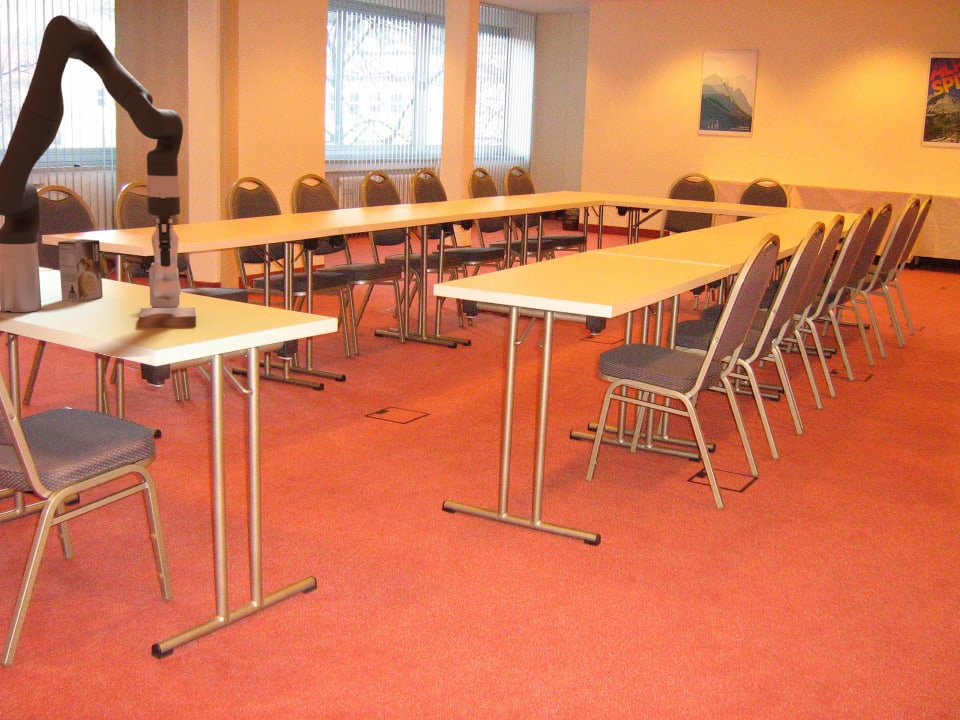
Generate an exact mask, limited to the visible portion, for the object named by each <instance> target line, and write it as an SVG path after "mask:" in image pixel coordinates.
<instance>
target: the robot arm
mask: <svg viewBox="0 0 960 720" xmlns="http://www.w3.org/2000/svg"><path fill="white" fill-rule="evenodd" d="M69 59H73V60H76V61H77V60H78V61H80V62H82V63H84V64H85V65H86V66H87V67H89V68H90V69H92V70H93V71H94V72H95V73H96V74H97V75H98V76H99V77H100V79H101V81H102V84H103V87H105V90H106V91H107V92H108V94H109V95H110V96H111V97H112V99H113V100H114V101H116V103H117V104H119V106H120V107H122V109H124V111H126V112H127V113H128V115H129V117H130V120H132V122H133V124H134V126H135V127H136V128H137V130H138V131H139V132H140V133H141V134H142V135H143V136H144V137H146V138H149V139H150V140H157V141H156V145H155V148H154V149H152V150H150V151H148V152H147V154H146V176H147V177H146V204H147V205H146V206H147V207H146V208H147V214H148V215H150V216H156V217H159V223H157V221H156V222H155V230H156V231H157V240H158V241H159V249H160V258H161V266H163V267H169V266H170V249H171V245H170V242H171V241H172V231H173V230H174V222H173V221H172V223H169V217H172V216H179V215H180V214H181V197H180V196H181V192H180V180H179V169H178V167H179V166H178V165H179V164H178V158H179V153H180V149H181V145H182V140H183V133H184V125H183V121H182V119H181V116H180V115H179V113H178V112H177V111H175V110H172V109H168V108H156V107H155V106H153V102H154V99H153V96H152V95H151V92H150V91H148V90H147V88H146V87H145V86H144V85H142V83H140V81H138V79H136V78H135V77H134V76H133V75H132V74H131V73H130V72H129V71H128V70H127V69H126V68H125V67H124V65H122V64H121V63H120V60H118V59H117V58H116V57H115V55H114V54H113V53H112V51H111V50H110V48H108V47H107V44H106V43H105V42H104V41H103V39H102V38H101V37H100V35H99V34H98V32H97V31H96V30H95V28H94V27H93V26H92V25H90V24H89V23H87V22H85V21H84V20H81V19H77V18H73V17H72V16H67V15H63V14H61V15H60V14H59V15H56V16H54V17H52V18H51V19H50V20H49V22H48V23H47V24H46V27H45V29H44V33H43V36H42V40H41V44H40V49H39V53H38V57H37V61H36V65H35V68H34V72H33V75H32V77H31V81H30V83H29V87H28V89H27V93H26V95H25V98H24V100H23V103H22V105H21V108H20V110H19V114H18V115H17V116H18V117H17V119H16V124H15V126H14V129H13V132H12V135H11V136H10V139H9V142H8V145H7V148H6V151H5V153H4V156H3V159H2V160H1V162H0V216H2V217H4V222H3V224H2V226H1V228H0V312H6V311H11V312H10V313H28V312H36V311H40V310H42V296H41V294H42V292H41V280H40V279H41V278H40V264H39V263H40V262H39V261H40V260H39V247H38V234H39V233H40V228H41V227H40V225H41V223H40V222H41V219H40V217H41V216H40V214H41V213H40V197H39V193H38V190H37V188H36V186H35V185H34V183H33V182H32V181H30V180H29V178H30V174H31V172H32V170H33V168H34V167H35V165H36V163H37V162H38V161H39V160H40V159H41V158H42V156H43V155H44V154H45V152H47V150H49V148H50V147H51V145H52V144H53V142H54V140H55V139H56V136H57V135H58V132H59V130H60V127H61V124H62V121H63V119H64V113H65V108H64V107H65V104H64V103H65V102H64V96H63V90H62V82H63V81H62V79H63V74H64V72H65V69H66V66H67V64H68V61H69ZM162 241H168V244H162Z"/></svg>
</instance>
